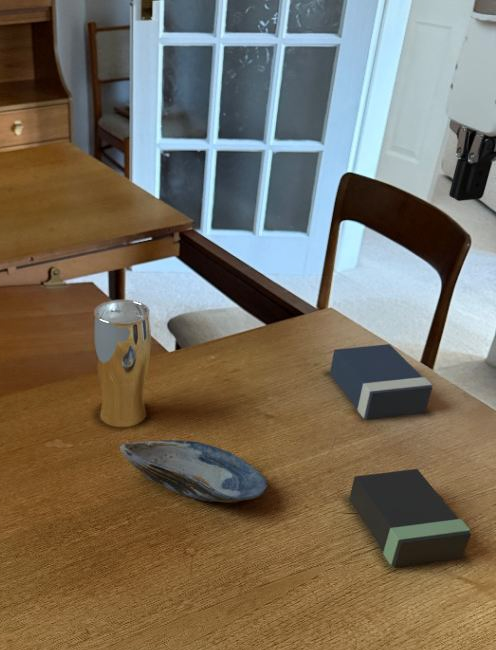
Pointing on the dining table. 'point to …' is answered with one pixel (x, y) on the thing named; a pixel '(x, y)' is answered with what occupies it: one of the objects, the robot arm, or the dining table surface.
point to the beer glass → (122, 359)
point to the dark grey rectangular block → (408, 518)
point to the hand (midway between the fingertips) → (465, 197)
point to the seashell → (196, 470)
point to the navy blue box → (380, 381)
